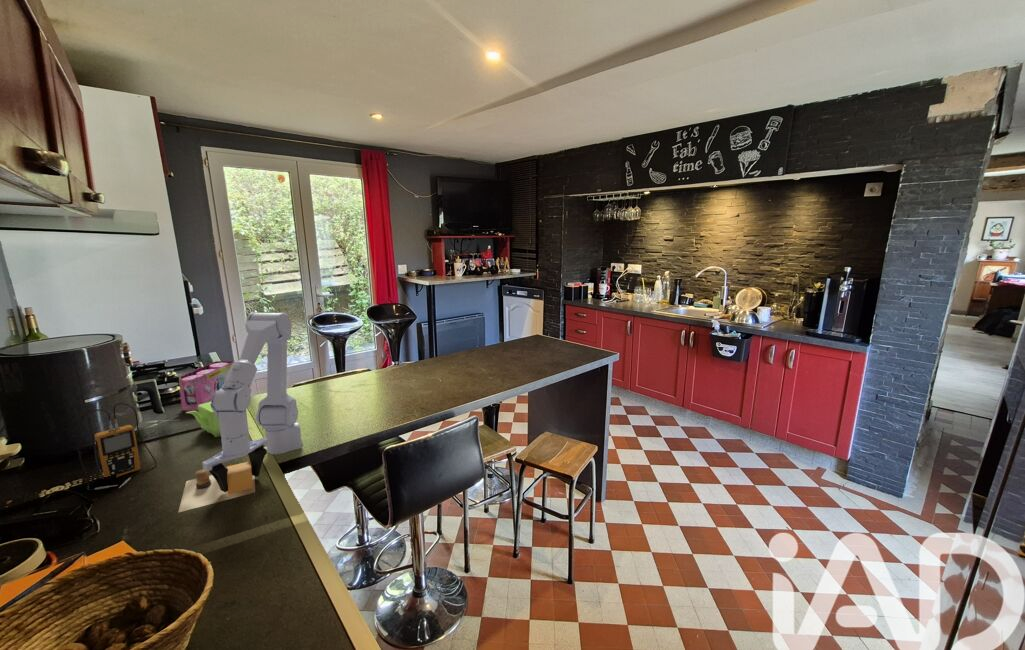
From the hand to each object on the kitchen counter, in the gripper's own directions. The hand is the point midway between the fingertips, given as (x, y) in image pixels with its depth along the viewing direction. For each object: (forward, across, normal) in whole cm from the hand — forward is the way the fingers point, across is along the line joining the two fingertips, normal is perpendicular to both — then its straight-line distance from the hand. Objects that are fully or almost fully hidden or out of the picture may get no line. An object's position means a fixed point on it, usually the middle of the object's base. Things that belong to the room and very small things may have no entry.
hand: (240, 482), depth 101 cm
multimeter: (+3, +11, -33) cm, 35 cm away
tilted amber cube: (+1, 0, 0) cm, 1 cm away
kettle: (+3, -16, -41) cm, 45 cm away
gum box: (+3, -30, -75) cm, 81 cm away
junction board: (+2, +3, -4) cm, 6 cm away
